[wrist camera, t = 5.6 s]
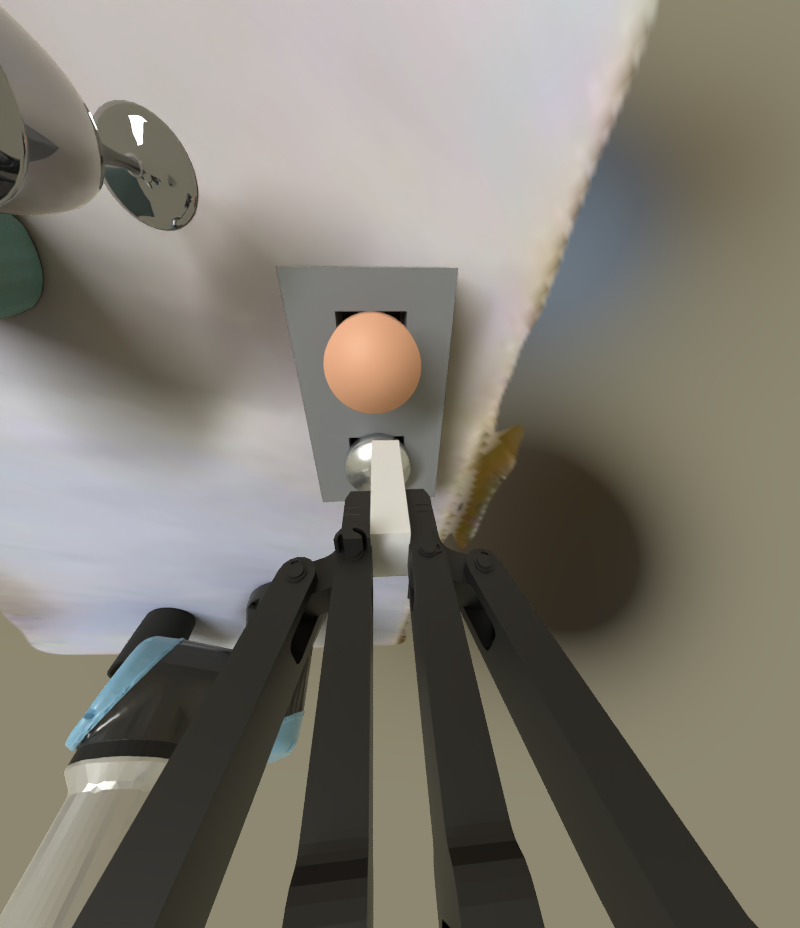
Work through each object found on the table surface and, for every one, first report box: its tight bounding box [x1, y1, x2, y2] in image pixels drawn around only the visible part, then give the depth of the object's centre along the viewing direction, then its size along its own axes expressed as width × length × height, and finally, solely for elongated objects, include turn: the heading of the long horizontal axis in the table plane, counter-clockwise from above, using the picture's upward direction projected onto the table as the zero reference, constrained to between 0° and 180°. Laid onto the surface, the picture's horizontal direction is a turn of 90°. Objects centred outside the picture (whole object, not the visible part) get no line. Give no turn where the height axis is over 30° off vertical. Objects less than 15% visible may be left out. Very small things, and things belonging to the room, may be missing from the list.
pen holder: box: [107, 608, 195, 678], centre depth 54 cm, size 9×9×10 cm
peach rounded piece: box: [323, 311, 421, 414], centre depth 23 cm, size 7×7×7 cm
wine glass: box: [0, 5, 198, 230], centre depth 16 cm, size 8×8×15 cm
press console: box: [276, 266, 458, 502], centre depth 31 cm, size 24×14×6 cm, turn 0°
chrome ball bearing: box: [345, 433, 410, 491], centre depth 34 cm, size 7×7×7 cm
